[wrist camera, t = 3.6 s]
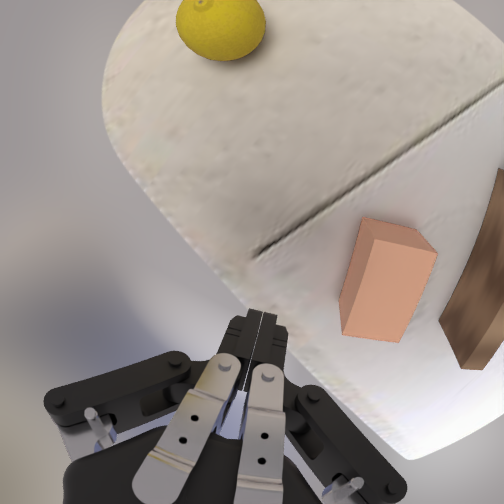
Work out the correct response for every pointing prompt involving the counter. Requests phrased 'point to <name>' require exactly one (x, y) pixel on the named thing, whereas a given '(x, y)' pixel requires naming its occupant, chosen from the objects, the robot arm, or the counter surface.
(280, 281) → the counter surface
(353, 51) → the counter surface
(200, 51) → the lemon
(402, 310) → the terracotta block
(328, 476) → the robot arm
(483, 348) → the walnut plank
